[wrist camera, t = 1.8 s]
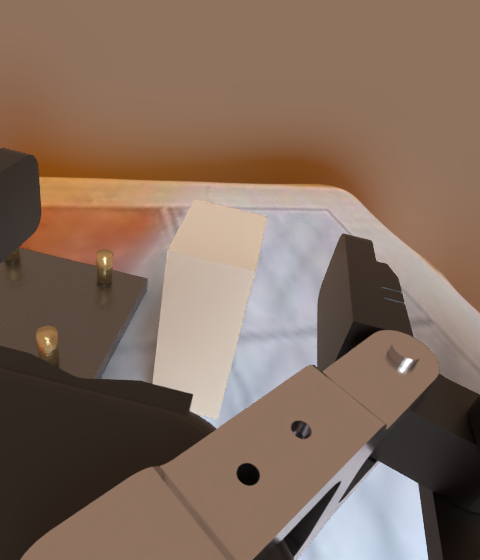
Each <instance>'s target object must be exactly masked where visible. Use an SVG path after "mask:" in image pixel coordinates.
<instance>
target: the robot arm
mask: <svg viewBox="0 0 480 560" xmlns="http://www.w3.org/2000/svg"><path fill="white" fill-rule="evenodd" d="M40 218H41V200H40V185H39V169H38V163H37V160H36V158H35V157H34V156H33V155H30V154H26V153H22V152H17V151H14V150H10V149H6V148H0V264H1V263H2V262H3V261H4V260H5V259H6V258H7V257H8V256H10V255H11V254H12V253H13V252H14V251H15V250H16V249H17V248H18V247H19V246H20V245H22V244H23V243H24V242H25V241H26V240H27V239H28V238H29V237H30V236H31V235H32V234H33V233H34V232H35V231H36V229H37V227H38V225H39V222H40ZM192 398H193V394H191V393H187V392H183V391H179V390H175V389H171V388H167V387H163V386H159V385H155V384H151V383H147V382H143V381H134V380H110V379H87V378H79V377H76V376H73V375H71V374H69V373H67V372H65V371H63V370H62V369H60V368H58V367H56V366H54V365H52V364H50V363H48V362H46V361H44V360H42V359H40V358H38V357H36V356H34V355H33V354H31V353H28V352H24V351H20V350H16V349H12V348H8V347H4V346H0V560H297V558H298V557H299V556H300V555H301V554H302V553H303V552H304V550H305V549H306V548H307V547H308V546H309V544H310V543H311V542H312V541H313V540H314V538H315V537H316V536H317V534H318V533H319V532H320V530H321V529H322V528H323V526H324V525H325V524H326V523H327V521H328V520H329V519H330V518H331V516H332V515H333V514H334V513H335V512H336V511H337V509H338V508H339V507H340V506H341V505H342V504H343V503H344V502H345V500H346V499H347V498H348V497H349V496H350V495H351V494H352V493H353V491H354V490H355V489H356V488H357V487H358V486H359V485H360V484H361V482H362V481H363V480H364V479H365V478H366V477H367V476H368V475H369V474H370V472H371V471H372V470H373V469H374V468H375V467H376V466H377V465H378V463H379V462H382V463H383V464H385V465H387V466H389V467H390V468H392V469H394V470H396V471H398V472H399V473H401V474H403V475H405V476H407V477H408V478H410V479H412V480H414V481H415V482H417V483H418V484H419V492H420V499H421V507H422V514H423V522H424V529H425V537H426V544H427V552H428V559H429V560H480V395H479V394H477V393H475V392H473V391H471V390H469V389H467V388H465V387H463V386H461V385H459V384H457V383H455V382H452V381H451V380H449V379H447V378H445V377H443V376H442V375H440V374H439V364H438V361H437V359H436V357H435V356H434V354H433V353H432V352H431V351H430V350H429V348H427V347H426V346H425V345H424V344H423V343H421V342H420V341H419V340H417V339H415V338H414V337H413V333H412V330H411V326H410V322H409V318H408V314H407V310H406V306H405V304H404V299H403V295H402V293H401V287H400V283H399V279H398V277H397V276H396V274H395V273H394V272H393V271H392V270H391V268H390V267H389V266H388V265H387V264H385V263H381V262H377V261H376V258H375V253H374V248H373V243H372V241H371V240H367V239H363V238H359V237H355V236H351V235H347V234H342V235H341V237H340V239H339V241H338V243H337V246H336V248H335V251H334V254H333V256H332V259H331V261H330V264H329V267H328V269H327V272H326V274H325V277H324V280H323V282H322V285H321V289H320V293H319V298H318V312H317V367H316V366H315V365H309V366H307V367H305V368H304V369H302V370H301V371H299V372H298V373H296V374H295V375H294V376H292V377H291V378H289V379H288V380H286V381H285V382H284V383H282V384H281V385H279V386H278V387H276V388H275V389H274V390H272V391H271V392H269V393H268V394H266V395H265V396H263V397H262V398H261V399H259V400H258V401H256V402H255V403H253V404H252V405H251V406H249V407H248V408H246V409H245V410H243V411H242V412H241V413H239V414H238V415H236V416H235V417H233V418H232V419H231V420H229V421H228V422H226V423H225V424H223V425H222V426H221V427H219V428H218V429H216V428H215V427H214V426H213V425H211V424H210V423H209V422H207V421H206V420H205V419H203V418H202V417H200V416H198V415H197V414H195V413H193V412H191V411H190V408H191V403H192Z"/></svg>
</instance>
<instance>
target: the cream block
mask: <svg viewBox="0 0 480 560" xmlns="http://www.w3.org/2000/svg"><path fill="white" fill-rule="evenodd" d="M266 220H267V216H264V215H260V214H255V213H251V212H247V211H243V210H239V209H235V208H230V207H226V206H222V205H218V204H214V203H209V202H205V201H201V200H197V199H194V201H193V203H192V205H191V206H190V208H189V210H188V212H187V214H186V216H185V218H184V220H183V221H182V223H181V225H180V227H179V229H178V231H177V233H176V235H175V237H174V238H173V240H172V242H171V244H170V246H169V248H168V250H167V256H166V266H165V275H164V284H163V293H162V302H161V311H160V320H159V329H158V338H157V347H156V356H155V366H154V375H153V384H155V385H159V386H163V387H167V388H171V389H175V390H179V391H183V392H187V393H191V394H193V398H192V403H191V408H190V411H191V412H193V413H195V414H197V415H201V416H205V417H209V418H214V419H218V416H219V412H220V409H221V405H222V401H223V397H224V393H225V389H226V385H227V381H228V378H229V374H230V370H231V366H232V362H233V358H234V354H235V350H236V347H237V343H238V339H239V335H240V331H241V327H242V323H243V319H244V316H245V312H246V308H247V304H248V300H249V296H250V292H251V288H252V285H253V281H254V277H255V273H256V268H257V264H258V259H259V254H260V249H261V244H262V239H263V235H264V230H265V225H266Z"/></svg>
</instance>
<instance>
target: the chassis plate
mask: <svg viewBox="0 0 480 560" xmlns="http://www.w3.org/2000/svg"><path fill="white" fill-rule="evenodd" d="M147 282H148V279H147V278H143V277H139V276H135V275H130V274H126V273H122V272H118V271H114V270H113V253H112V252H111V251H110V250H100V251H98V252H97V266H93V265H89V264H85V263H81V262H76V261H72V260H68V259H64V258H60V257H56V256H52V255H47V254H43V253H39V252H35V251H31V250H27V249H23V248H19V247H18V248H17V249H16V250H15V251H14V252H13V253H12V254H11V255H10V256H8V257H7V258H6V259H5V260H4V261H3V262H2V263H1V264H0V346H4V347H8V348H12V349H16V350H20V351H24V352H28V353H31V354H33V355H34V356H36V357H38V358H40V359H42V360H44V361H46V362H48V363H50V364H52V365H54V366H56V367H58V368H60V369H62V370H63V371H65V372H67V373H69V374H71V375H73V376H76V377H79V378H87V379H100V378H101V376H102V374H103V372H104V370H105V368H106V366H107V364H108V362H109V361H110V359H111V357H112V355H113V353H114V351H115V349H116V347H117V345H118V344H119V342H120V340H121V338H122V336H123V334H124V332H125V330H126V328H127V327H128V325H129V323H130V321H131V319H132V317H133V315H134V313H135V311H136V310H137V308H138V306H139V304H140V302H141V300H142V298H143V296H144V294H145V293H146V291H147Z"/></svg>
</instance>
